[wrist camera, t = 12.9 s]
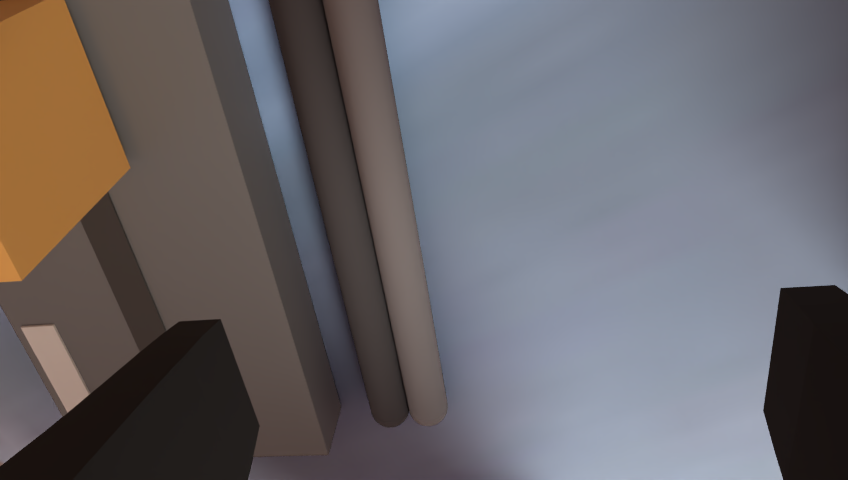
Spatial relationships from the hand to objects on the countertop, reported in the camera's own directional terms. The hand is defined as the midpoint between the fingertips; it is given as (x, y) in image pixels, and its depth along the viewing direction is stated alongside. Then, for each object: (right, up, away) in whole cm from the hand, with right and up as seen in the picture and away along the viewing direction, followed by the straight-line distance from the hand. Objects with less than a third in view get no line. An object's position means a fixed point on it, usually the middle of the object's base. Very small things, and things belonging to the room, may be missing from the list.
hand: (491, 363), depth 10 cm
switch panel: (-9, +3, +10) cm, 14 cm away
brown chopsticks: (-2, +3, +9) cm, 10 cm away
